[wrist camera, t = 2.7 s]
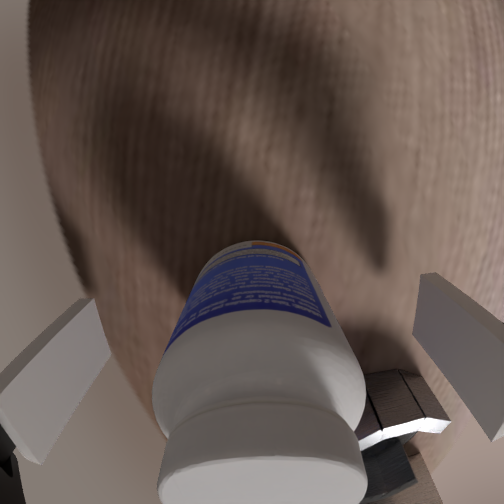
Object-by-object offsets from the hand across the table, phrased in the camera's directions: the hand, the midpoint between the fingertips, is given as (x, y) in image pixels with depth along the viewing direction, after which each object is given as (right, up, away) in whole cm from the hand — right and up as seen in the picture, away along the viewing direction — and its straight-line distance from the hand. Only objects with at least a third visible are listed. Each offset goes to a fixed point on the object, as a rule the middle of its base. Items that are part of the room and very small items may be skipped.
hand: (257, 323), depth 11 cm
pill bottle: (0, +1, +2) cm, 2 cm away
